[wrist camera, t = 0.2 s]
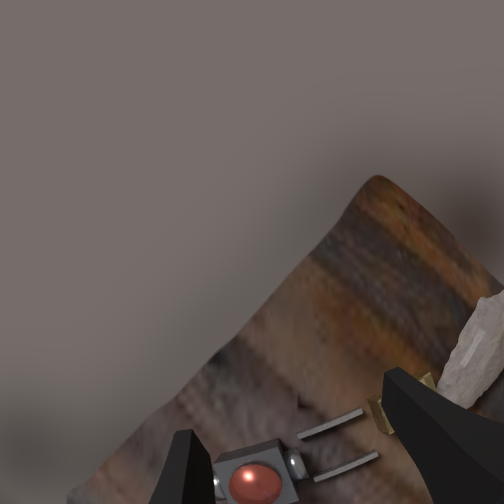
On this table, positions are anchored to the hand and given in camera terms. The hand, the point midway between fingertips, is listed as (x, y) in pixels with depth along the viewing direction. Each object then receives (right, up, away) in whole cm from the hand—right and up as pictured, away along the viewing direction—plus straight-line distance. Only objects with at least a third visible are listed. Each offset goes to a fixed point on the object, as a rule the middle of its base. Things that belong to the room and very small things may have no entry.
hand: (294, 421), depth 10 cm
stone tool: (+33, -10, +27) cm, 44 cm away
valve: (+4, -22, +24) cm, 33 cm away
